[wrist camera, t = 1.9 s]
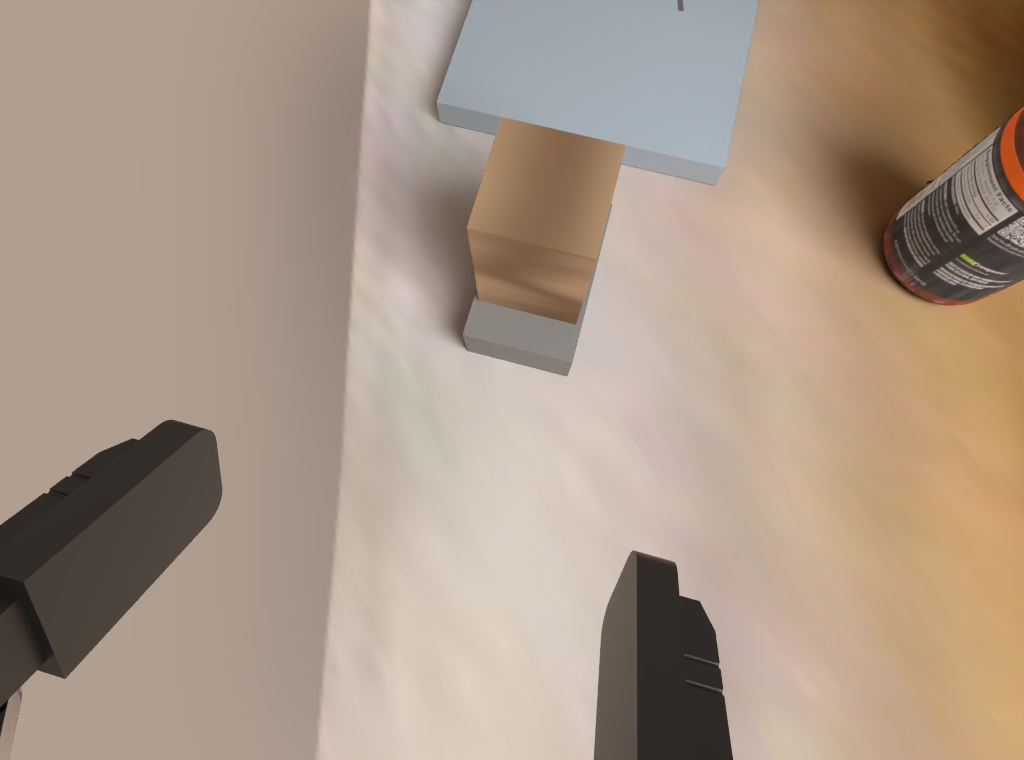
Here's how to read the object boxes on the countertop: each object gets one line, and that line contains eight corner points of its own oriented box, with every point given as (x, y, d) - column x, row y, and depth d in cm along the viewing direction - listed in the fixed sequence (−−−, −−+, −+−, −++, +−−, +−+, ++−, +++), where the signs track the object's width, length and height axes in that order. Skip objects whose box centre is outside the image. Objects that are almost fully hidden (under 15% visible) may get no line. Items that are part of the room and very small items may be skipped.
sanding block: (603, 231, 29) (642, 105, 20) (567, 376, 27) (592, 309, 18) (510, 208, 29) (508, 75, 20) (467, 350, 27) (444, 272, 18)
